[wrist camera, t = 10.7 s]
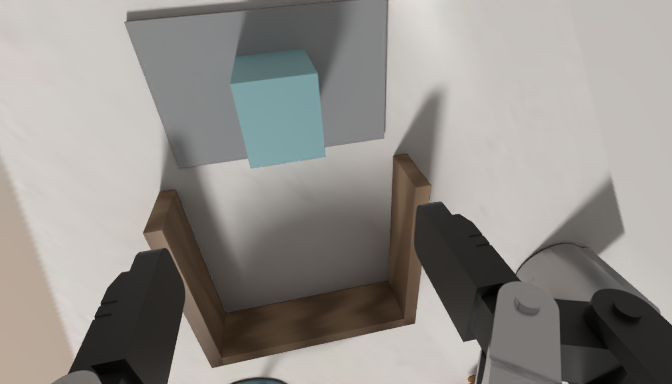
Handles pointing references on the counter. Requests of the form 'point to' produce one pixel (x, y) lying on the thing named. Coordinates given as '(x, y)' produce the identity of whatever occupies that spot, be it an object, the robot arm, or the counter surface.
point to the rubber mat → (254, 38)
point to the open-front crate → (301, 314)
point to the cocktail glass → (259, 381)
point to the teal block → (278, 107)
